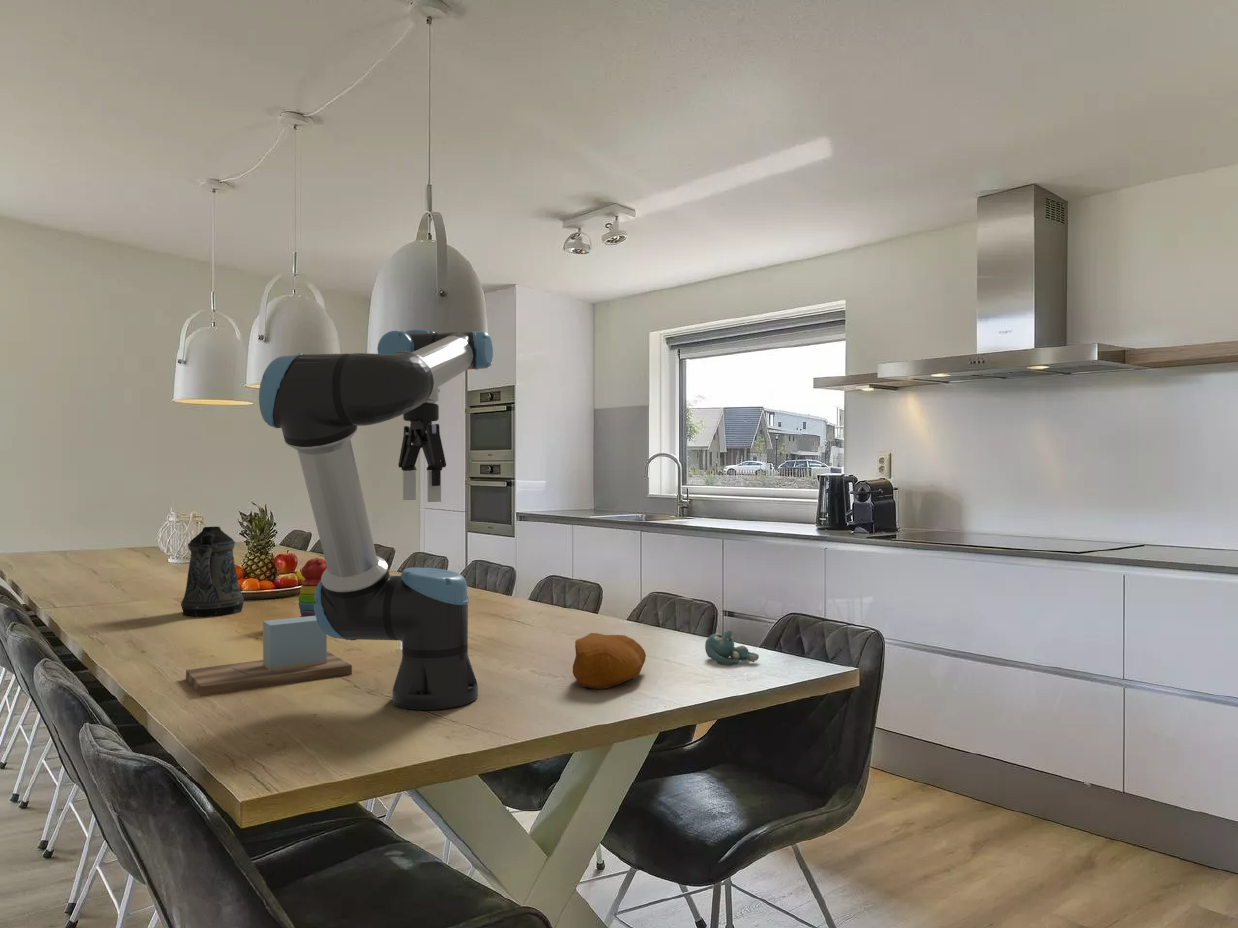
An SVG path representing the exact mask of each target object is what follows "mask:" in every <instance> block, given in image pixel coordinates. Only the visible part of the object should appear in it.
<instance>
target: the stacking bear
mask: <svg viewBox="0 0 1238 928" xmlns="http://www.w3.org/2000/svg"><path fill="white" fill-rule="evenodd" d="M326 569H327V565H326V561H325V558H319V557H315V558H310V559H309V560H307V562H306V563H305V564H304V565H303V566H302V567H301V568H300V570H299V573H300V575H301V577H303V579H304V580H303V581H302V583H301V584H302V585H301V587H300V591H299V594H298V601H297V602H298V608H299V613H300V616H299V617H307V616H315V611H314V604H315V603H316V601H315V599H314V595H315V590H316V587H317V585H318V583H319V582H320V581H321V577H322V574H323V573H324V571H325V570H326Z"/></svg>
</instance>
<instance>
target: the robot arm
mask: <svg viewBox="0 0 1238 928" xmlns="http://www.w3.org/2000/svg"><path fill="white" fill-rule="evenodd" d="M493 349H494V347H493V341H492V339H491V335H489V334H488V333H487V332H485V331H474V330H471V331H456V332H454V331H453V332H435V331H431V330H427V329H409V330H406V331H403V330H389V331H388V332H386V333H384V334H383V335H382V336H381V337H380V339H379V340H378V343H377V349H376V350H377V353H368V352H367V353H366V352H358V353H357V352H356V353H355V352H354V353H318V354H317V353H315V354H314V353H313V354H305V353H297V354H293V355H281V356H278V357H276V358H275V359H273V360H272V361H271V362H270V363H269V364H268V365H267V367H266V368H265V369H264V371H263V375H262V376H261V377H262V378H261V381H260V384H259V389H258V391H259V392H258V405H259V411H260V415H261V418H262V420H263V421H264V423H267V425H268V426H270V427H272V428H274V429H281V431H282V435H283V440H284V442H285V444H286V445H287V446H289V447H290V448H292V449H294V450H296V451H297V454H298V458H299V462H300V466H301V467H300V468H301V471H302V473H303V477H304V482H305V486H306V491H307V494H308V498H309V501H310V505H311V510H312V514H313V516H314V517H313V518H314V521H315V526H316V529H317V532H318V536H319V541H320V544H321V548H322V552H323V553H322V554H323V556H324V560H325V561H326V565H327V569H326V570H325V571H324V573H323V574H322V577H321V581H320V582H319V583H318V585H317V587H316V590H315V595H314V599H315V601H316V603H315V604H314V611H315V616H316V619H317V622H318V624H319V626H320V628H321V629H322V630H323V631H324V633H326V634H327V637H328V636H329V637H331V638H332V639H340V640H345V641H357V640H361V641H362V640H365V641H366V640H367V641H369V640H370V641H401V646H402V647H401V648H402V651H401V652H402V655H401V656H402V657H401V661H400V664H399V667H398V671H397V674H396V677H395V681H394V683H393V687H392V691H391V692H392V695H391V697H392V704H393V705H395V706H396V707H399V708H402V709H408V710H419V711H420V710H421V711H432V710H433V711H434V710H435V711H436V710H445V709H453V708H457V707H461V706H465V705H467V704H471V703H472V702H474V701H475V700H478V696H479V694H478V693H479V686H478V685H479V684H478V680H477V679H476V676H475V673H474V670H473V666H472V663H471V660H470V657H469V647H468V646H469V644H468V643H469V641H468V640H469V639H468V637H469V634H468V633H469V630H468V629H469V628H468V627H469V620H468V619H469V617H468V616H469V614H468V613H469V612H468V611H469V607H468V606H469V601H470V600H469V596H468V584H467V580H466V578H465V577H464V576H463V575H462V574H461V573H458V572H456V571H452V570H447V569H443V568H434V567H407V568H405V569H403V570H402V572H401V574H400V575H391V574H390V571H389V566H388V563H387V561H386V560H385V559H384V558H382V557H381V556H378V555H377V553H376V548H375V544H374V543H375V542H374V539H373V536H372V535H373V533H372V530H371V526H370V522H369V515H368V512H367V509H366V503H365V499H364V494H363V490H362V486H361V481H360V476H359V472H358V467H357V463H356V458H355V455H354V449H353V444H352V441H351V439H352V438H353V436H354V435H355V434H356V432H358V427H363V426H365V427H366V426H371V425H376V424H380V423H385V422H386V421H391V420H393V419H395V418H398V417H400V416H402V418H403V419H402V420H403V421H406V422H410V424H409V425H404V426H403V437H402V443H401V448H400V454H399V459H398V465H397V466H398V468H401V471H402V500H403V501H416V500H417V493H416V492H417V481H416V480H417V479H416V477H417V470H418V469H417V467H416V463H417V460H418V457H419V454H420V452H421V450H422V451H423V454H424V456H425V457H424V458H425V460H426V464H427V467H426V471H427V472H426V473H427V477H426V479H427V487H426V488H427V493H426V495H427V500H426V501H427V503H435V502H436V503H438V502H440V503H441V502H442V470H443V468H446V466H447V463H446V457H445V453H444V448H443V443H442V439H441V435H440V433H441V432H440V424H439V423H433V422H437V421H438V420H439V419H440V416H439V415H440V412H439V411H440V407H439V406H440V405H439V404H438V403H437V402H438V401H439V393H440V392H441V389H440V388H439V387H441V386H442V385H444V384H445V383H448V382H449V381H452V379H454V378H455V377H457V376H459V375H460V374H462V373H464V372H466V371H468V370H475V371H476V370H477V371H478V370H481V369H482V370H483V369H488V368H490V366H491V364H492V362H493V358H494V351H493Z"/></svg>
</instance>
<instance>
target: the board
mask: <svg viewBox="0 0 1238 928" xmlns="http://www.w3.org/2000/svg"><path fill="white" fill-rule="evenodd" d="M352 667H353V666H352V664H351V663H349V662H347V661H345V660H344V659H342V658H340V657H338V656H336V655H335V654H333V653H332V652H330V651H327V663H325V664H317V665H310V666H302V667H295V668H288V669H280V670H273V671H270V670H269V669H267V668H266V667H265V666H263V659H262V660H261V659H260V660H254V661H253V660H252V661H245V662H237V663H230V664H229V663H228V664H221V665H215V666H213V665H212V666H207V667H198V668H191V669H189V668H188V669H186V670H185V679H186V681H187V682H188V683H189V684H190V685H191V687H193V689H194V690H195V691H196V692H197V694H199V696H200V697H203V696H209V695H210V696H212V695H218V694H225V693H232V692H237V691H244V690H251V689H259V688H265V687H273V686H279V685H287V684H292V683H300V682H307V681H314V680H319V679H320V680H321V679H327V678H334V677H340V676H341V677H343V676H347V675H352V673H353V668H352Z"/></svg>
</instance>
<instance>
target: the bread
mask: <svg viewBox="0 0 1238 928" xmlns="http://www.w3.org/2000/svg"><path fill="white" fill-rule="evenodd" d="M574 643H575V645H574V647H575V649H574V650H575V657H574V661H573V664H572V676H574V677H573V678H575V680H576V681H577V683H579V684H580V685H581V686H583V687H585V688H590V689H596V690H603V689H608V688H611V687H615V686H617V685H619V684H622V683H624V682H626V681H630V680H632V679H635V678H636V677H637V676H638V675H640V673H641V671H642V669H643V666H644V664H645V662H646V658H647V654H646V652H645V649H644V648H643V647H642V646H641V644H639V642H637V641H636V640H635V639H633V638H631V637H629V636H627V635H624V634H604V633H602V634H601V633H598V632H590V633H589V634H587V635H585V636H583V637H581V638H577V639H576V640H575V642H574Z"/></svg>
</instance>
